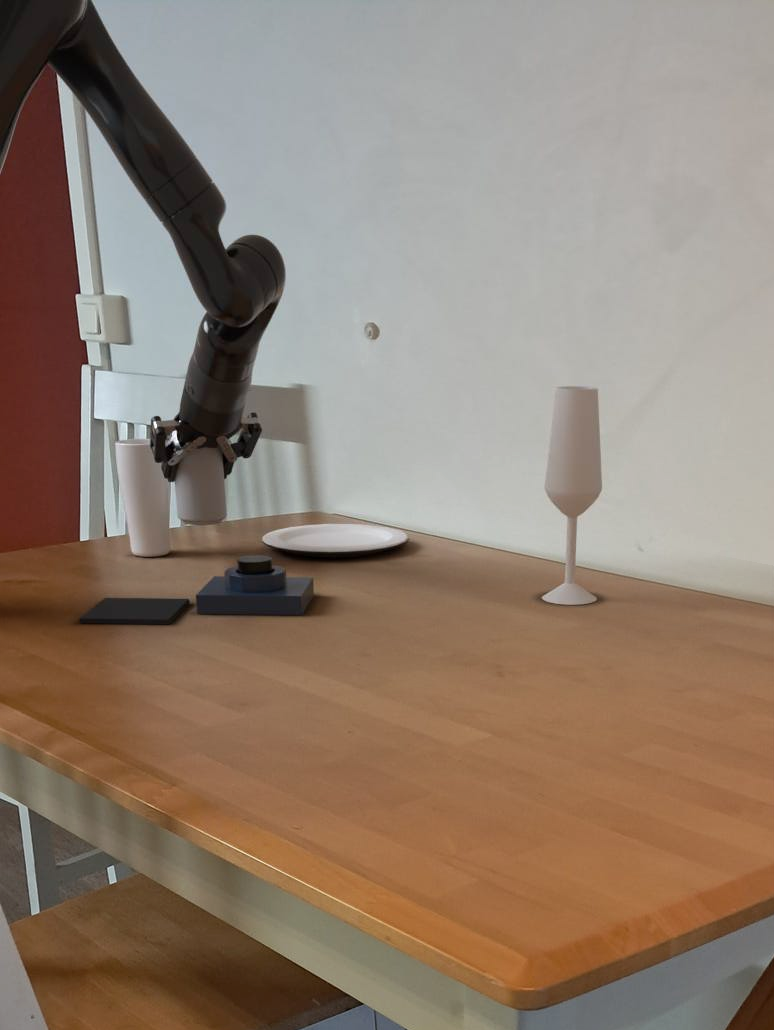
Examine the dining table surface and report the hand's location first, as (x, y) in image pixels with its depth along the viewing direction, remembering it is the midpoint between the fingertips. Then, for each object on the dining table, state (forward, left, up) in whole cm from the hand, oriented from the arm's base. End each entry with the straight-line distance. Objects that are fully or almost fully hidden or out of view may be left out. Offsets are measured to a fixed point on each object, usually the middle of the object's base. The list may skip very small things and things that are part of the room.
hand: (195, 475), depth 168 cm
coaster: (-1, -29, -11) cm, 31 cm away
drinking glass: (-8, +5, -12) cm, 15 cm away
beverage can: (+1, -1, -6) cm, 6 cm away
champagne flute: (+49, -19, -12) cm, 54 cm away
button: (+12, -24, -8) cm, 28 cm away
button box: (+12, -24, -11) cm, 29 cm away
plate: (+17, +11, -12) cm, 23 cm away
